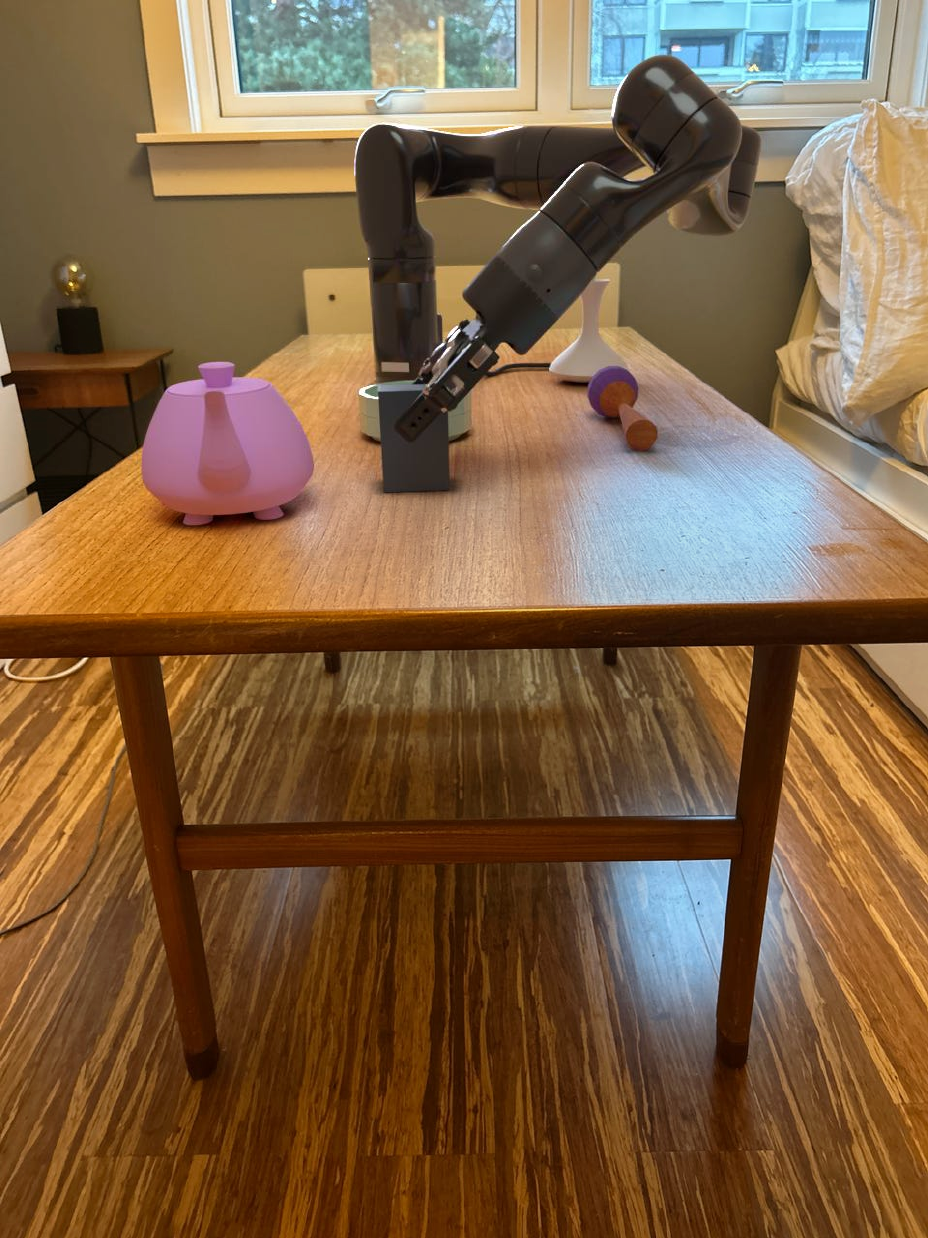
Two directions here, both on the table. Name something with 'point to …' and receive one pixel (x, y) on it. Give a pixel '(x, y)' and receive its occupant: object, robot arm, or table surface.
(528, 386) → the table surface
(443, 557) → the table surface
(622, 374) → the kendama
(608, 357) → the flower in vase
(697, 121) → the robot arm
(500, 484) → the table surface
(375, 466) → the table surface
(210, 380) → the teapot
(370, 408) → the bowl
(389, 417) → the dark gray rectangular block
